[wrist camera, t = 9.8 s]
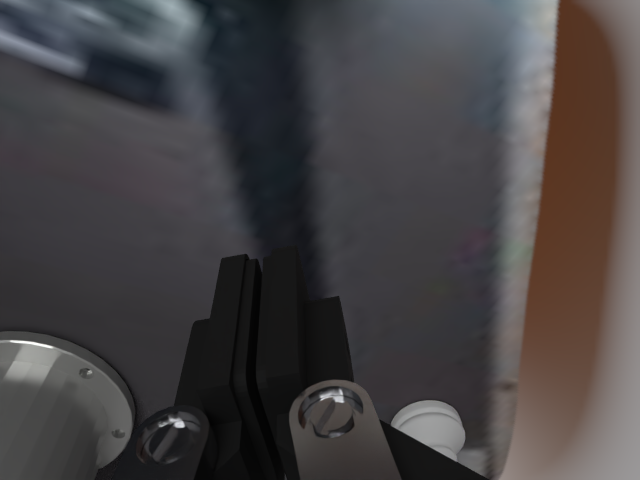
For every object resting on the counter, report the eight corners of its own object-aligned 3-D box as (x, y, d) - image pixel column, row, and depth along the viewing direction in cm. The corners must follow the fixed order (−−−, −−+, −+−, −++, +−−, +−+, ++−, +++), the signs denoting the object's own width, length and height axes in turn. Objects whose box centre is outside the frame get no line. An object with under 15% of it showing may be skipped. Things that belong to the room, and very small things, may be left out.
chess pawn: (382, 408, 39) (405, 532, 31) (453, 391, 38) (495, 512, 30) (397, 454, 41) (423, 579, 34) (465, 438, 41) (506, 561, 33)
